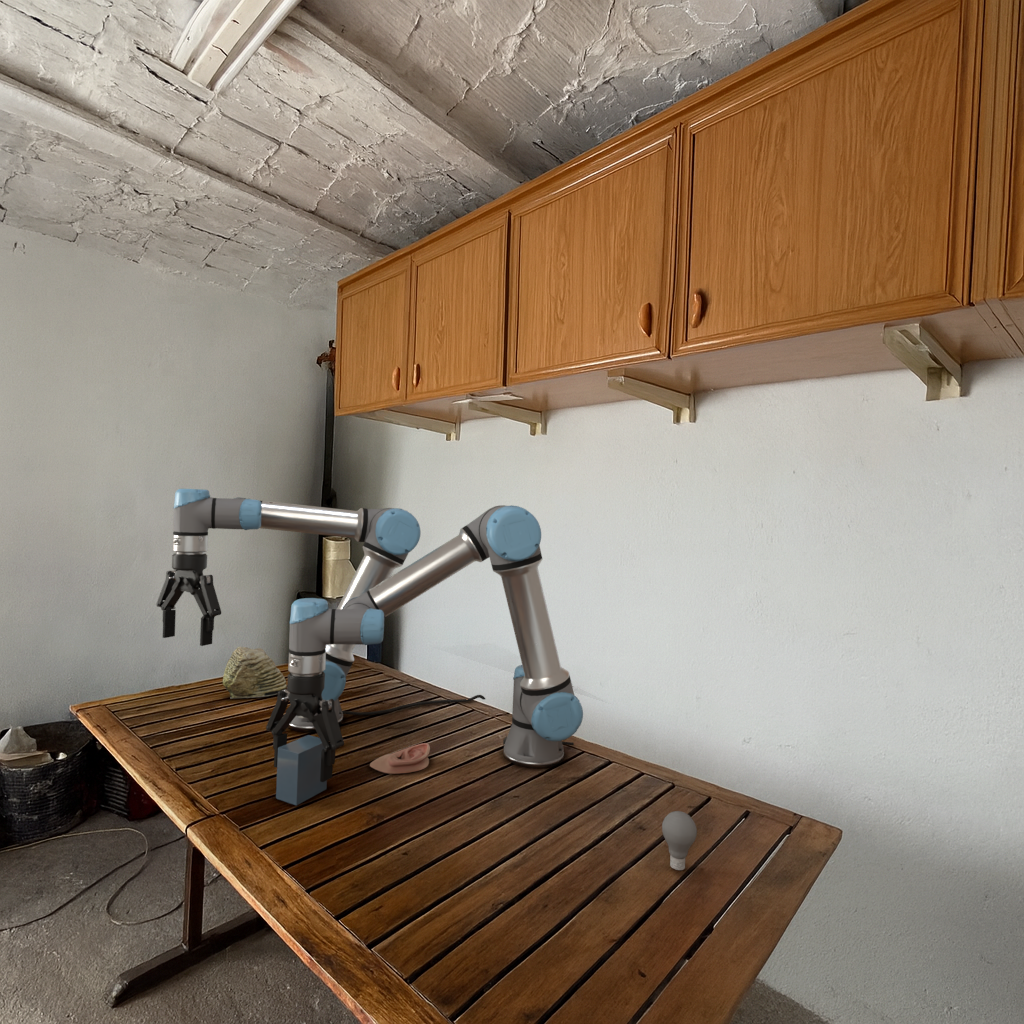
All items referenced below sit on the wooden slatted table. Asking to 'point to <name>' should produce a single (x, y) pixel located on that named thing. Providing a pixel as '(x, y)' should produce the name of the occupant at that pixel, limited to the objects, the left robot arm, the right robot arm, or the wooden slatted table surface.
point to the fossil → (252, 674)
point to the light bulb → (679, 837)
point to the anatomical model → (404, 760)
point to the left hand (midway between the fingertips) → (187, 640)
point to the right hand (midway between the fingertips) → (302, 772)
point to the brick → (299, 770)
